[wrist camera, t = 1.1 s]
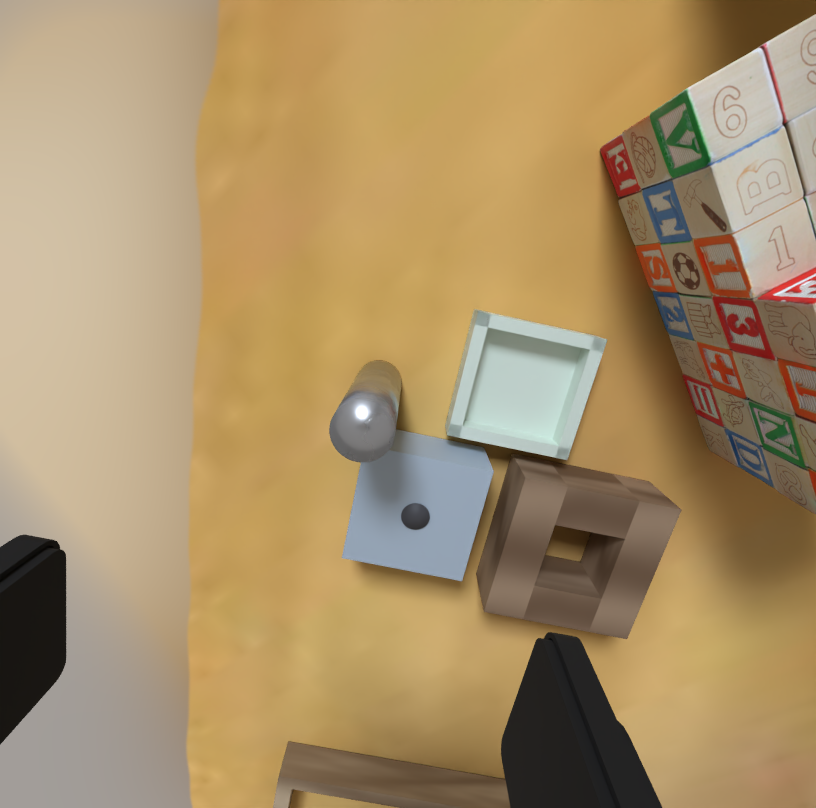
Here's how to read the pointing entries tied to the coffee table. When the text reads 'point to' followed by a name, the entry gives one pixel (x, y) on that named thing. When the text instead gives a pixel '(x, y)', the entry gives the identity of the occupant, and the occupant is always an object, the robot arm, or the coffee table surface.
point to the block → (419, 506)
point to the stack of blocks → (736, 251)
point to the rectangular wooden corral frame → (383, 781)
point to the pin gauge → (368, 413)
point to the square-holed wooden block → (603, 557)
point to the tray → (523, 384)
